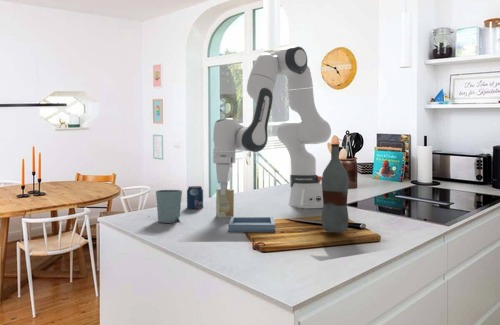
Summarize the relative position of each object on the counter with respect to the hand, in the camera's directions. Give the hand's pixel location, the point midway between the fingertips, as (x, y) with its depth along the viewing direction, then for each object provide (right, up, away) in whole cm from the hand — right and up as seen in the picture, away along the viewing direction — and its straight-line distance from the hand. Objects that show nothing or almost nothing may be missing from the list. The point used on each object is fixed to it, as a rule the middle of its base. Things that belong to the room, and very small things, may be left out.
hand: (224, 193), depth 172 cm
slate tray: (+11, -11, -16) cm, 23 cm away
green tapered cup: (-22, -11, -1) cm, 24 cm away
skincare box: (0, -11, +1) cm, 11 cm away
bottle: (+40, -11, -22) cm, 47 cm away
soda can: (-13, -10, +15) cm, 23 cm away
